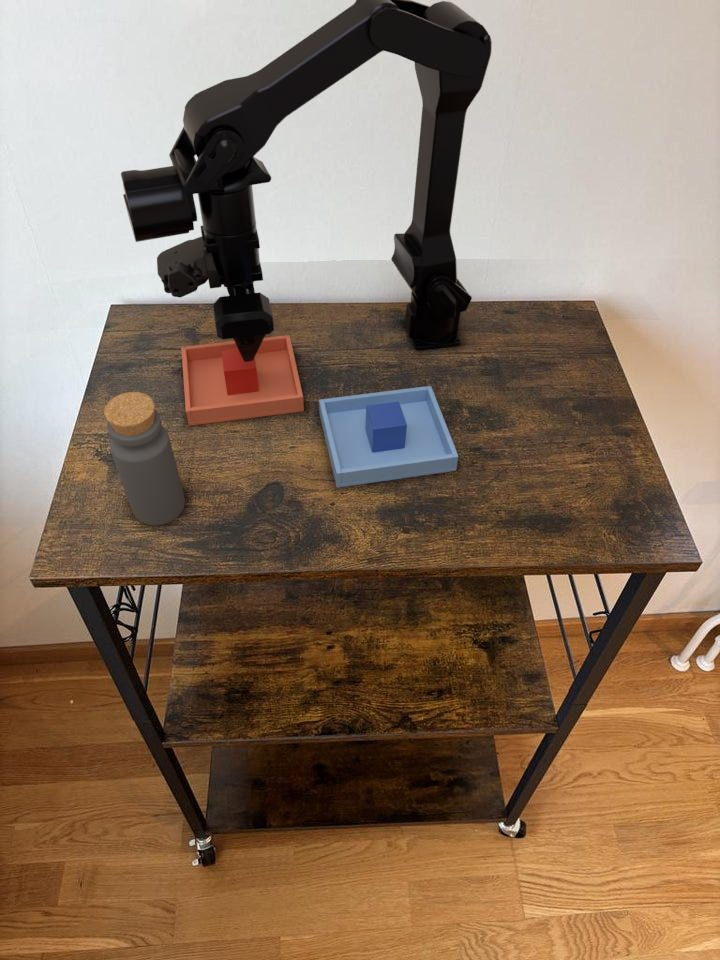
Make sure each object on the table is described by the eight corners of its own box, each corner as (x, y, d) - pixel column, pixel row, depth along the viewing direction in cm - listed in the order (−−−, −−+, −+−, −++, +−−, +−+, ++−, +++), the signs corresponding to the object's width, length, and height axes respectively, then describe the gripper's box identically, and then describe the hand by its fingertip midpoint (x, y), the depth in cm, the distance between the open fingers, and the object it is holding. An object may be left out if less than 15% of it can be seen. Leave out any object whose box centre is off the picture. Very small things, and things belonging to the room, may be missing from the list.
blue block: (397, 424, 90) (399, 401, 87) (404, 448, 87) (407, 424, 84) (365, 429, 89) (366, 405, 86) (372, 452, 86) (373, 429, 83)
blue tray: (429, 400, 93) (431, 385, 91) (456, 470, 86) (458, 456, 84) (319, 414, 91) (318, 399, 89) (336, 487, 84) (336, 473, 82)
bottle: (174, 530, 79) (146, 434, 68) (123, 521, 80) (87, 424, 68) (193, 490, 83) (169, 392, 72) (144, 481, 84) (113, 383, 72)
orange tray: (290, 349, 99) (289, 334, 97) (304, 411, 92) (303, 396, 90) (184, 361, 97) (181, 346, 95) (189, 426, 89) (185, 411, 88)
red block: (255, 371, 96) (253, 346, 92) (259, 391, 93) (256, 367, 90) (225, 374, 95) (221, 350, 92) (227, 395, 92) (223, 371, 89)
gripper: (151, 186, 84) (175, 299, 96) (156, 279, 72) (182, 396, 84) (248, 177, 86) (260, 290, 98) (268, 267, 74) (279, 383, 86)
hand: (244, 336), depth 91 cm, fingers open, 9 cm apart
